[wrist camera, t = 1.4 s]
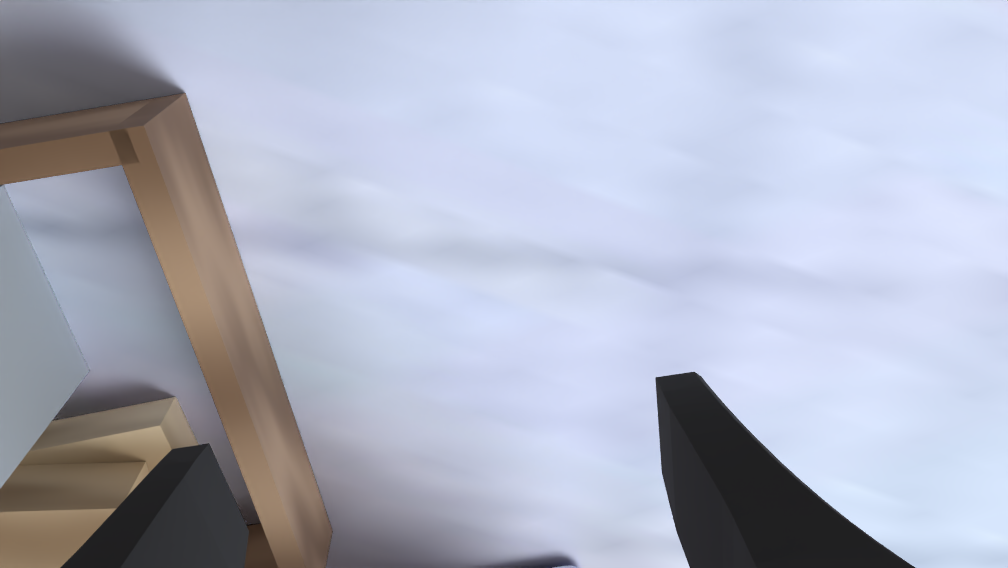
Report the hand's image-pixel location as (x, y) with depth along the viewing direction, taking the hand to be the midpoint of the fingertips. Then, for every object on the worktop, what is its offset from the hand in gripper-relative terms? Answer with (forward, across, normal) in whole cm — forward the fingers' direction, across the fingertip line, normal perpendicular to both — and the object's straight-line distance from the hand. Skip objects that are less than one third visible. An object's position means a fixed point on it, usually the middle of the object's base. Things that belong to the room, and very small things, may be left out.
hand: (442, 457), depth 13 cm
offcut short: (+9, +13, +8) cm, 17 cm away
